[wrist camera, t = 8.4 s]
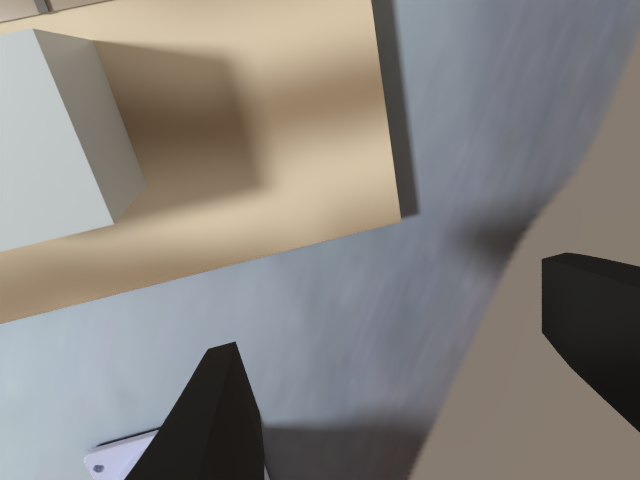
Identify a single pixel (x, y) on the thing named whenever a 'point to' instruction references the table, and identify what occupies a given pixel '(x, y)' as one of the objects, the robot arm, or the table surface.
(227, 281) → the table surface
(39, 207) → the light grey block
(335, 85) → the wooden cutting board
